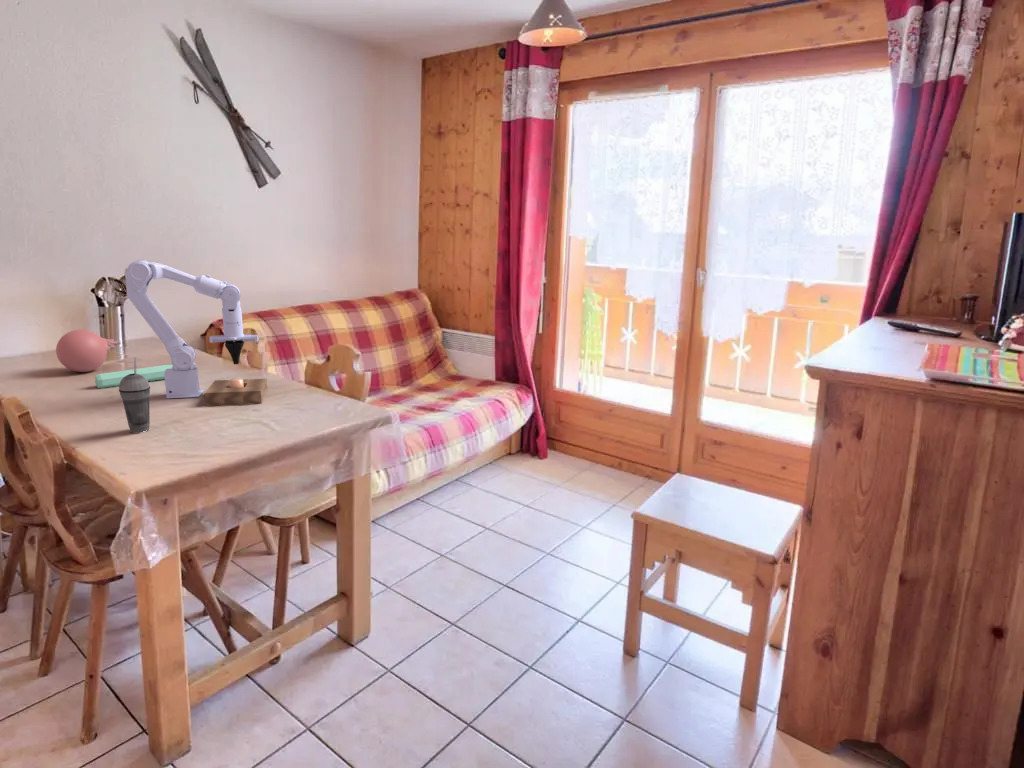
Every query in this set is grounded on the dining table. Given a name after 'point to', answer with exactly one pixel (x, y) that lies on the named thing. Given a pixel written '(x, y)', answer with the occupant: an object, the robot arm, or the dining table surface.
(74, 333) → the balloon
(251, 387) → the walnut bore block
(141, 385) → the beverage cup
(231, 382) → the terracotta plug
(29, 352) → the dining table surface
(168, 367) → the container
